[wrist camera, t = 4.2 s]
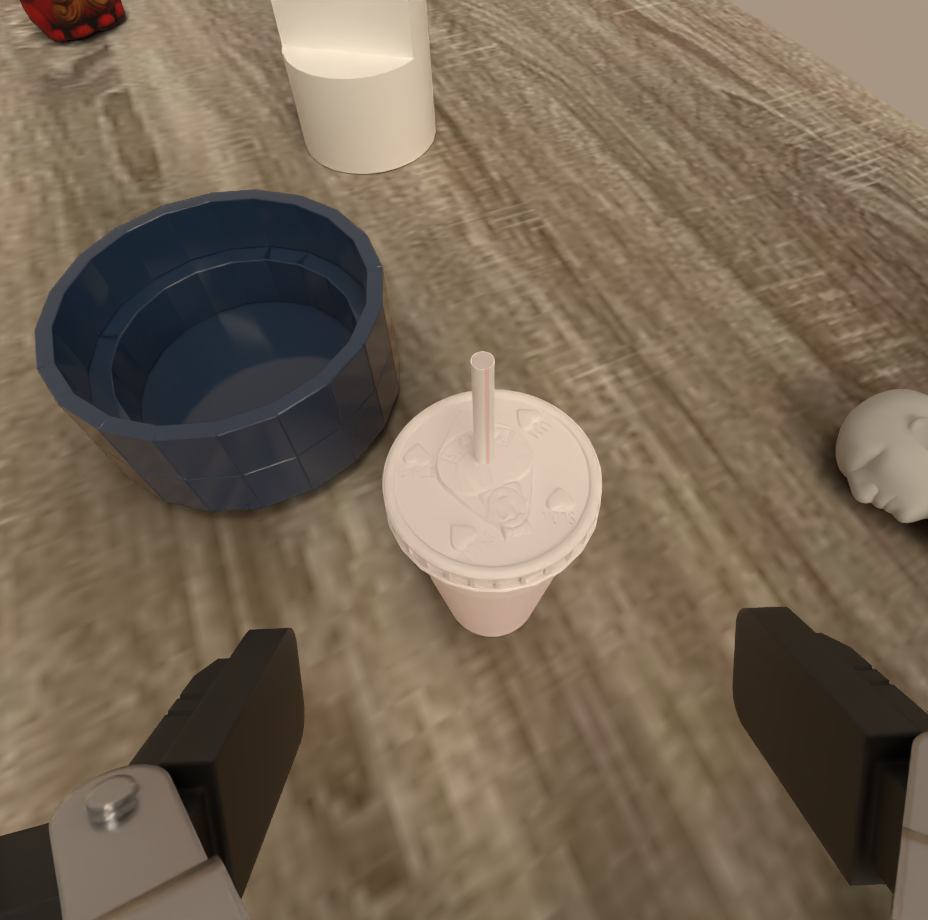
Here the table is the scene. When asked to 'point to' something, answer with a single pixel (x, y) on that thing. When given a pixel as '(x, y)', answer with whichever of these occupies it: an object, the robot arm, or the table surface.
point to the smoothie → (492, 499)
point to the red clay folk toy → (73, 16)
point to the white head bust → (888, 453)
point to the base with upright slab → (360, 80)
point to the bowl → (225, 348)
